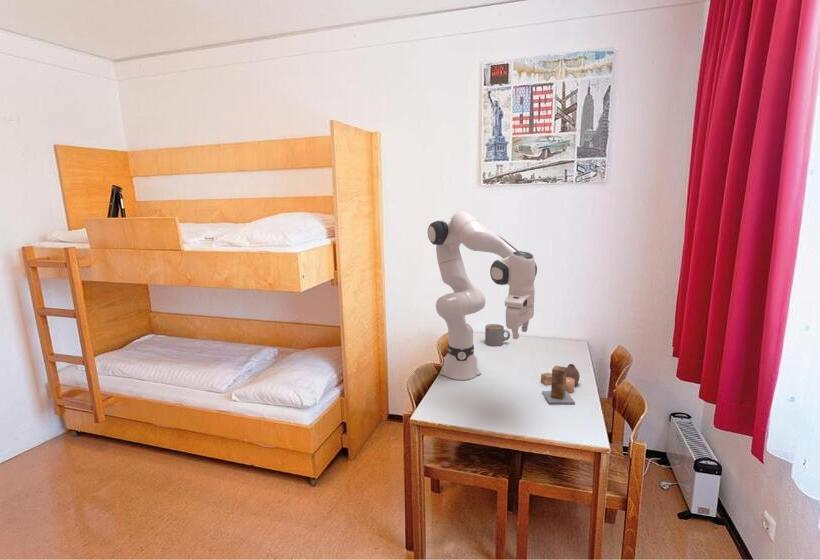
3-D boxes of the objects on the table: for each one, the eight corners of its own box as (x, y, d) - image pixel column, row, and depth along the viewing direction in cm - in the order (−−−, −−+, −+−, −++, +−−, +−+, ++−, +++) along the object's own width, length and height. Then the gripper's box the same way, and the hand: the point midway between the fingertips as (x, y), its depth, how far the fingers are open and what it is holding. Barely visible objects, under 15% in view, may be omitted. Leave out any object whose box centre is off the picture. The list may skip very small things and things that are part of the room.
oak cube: (540, 382, 189) (541, 373, 188) (548, 380, 190) (548, 372, 189) (546, 385, 185) (546, 377, 184) (554, 384, 186) (554, 375, 186)
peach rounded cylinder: (559, 388, 182) (559, 377, 181) (570, 387, 183) (570, 376, 182) (565, 393, 177) (565, 382, 176) (576, 392, 178) (577, 381, 177)
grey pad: (542, 393, 178) (542, 391, 178) (566, 393, 178) (566, 391, 177) (549, 404, 168) (549, 402, 168) (574, 404, 168) (575, 402, 168)
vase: (578, 381, 189) (579, 362, 187) (579, 388, 182) (581, 368, 181) (561, 380, 191) (562, 361, 189) (562, 386, 184) (563, 367, 182)
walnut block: (550, 397, 172) (552, 369, 170) (553, 393, 176) (555, 365, 173) (562, 400, 170) (564, 371, 167) (565, 395, 173) (566, 367, 171)
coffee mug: (483, 345, 237) (483, 328, 235) (487, 340, 246) (487, 323, 244) (508, 348, 232) (508, 330, 230) (510, 342, 241) (511, 325, 239)
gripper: (522, 291, 163) (521, 326, 165) (502, 302, 146) (501, 341, 148) (538, 293, 159) (537, 328, 162) (520, 304, 142) (519, 344, 145)
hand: (520, 334), depth 155 cm, fingers open, 8 cm apart
